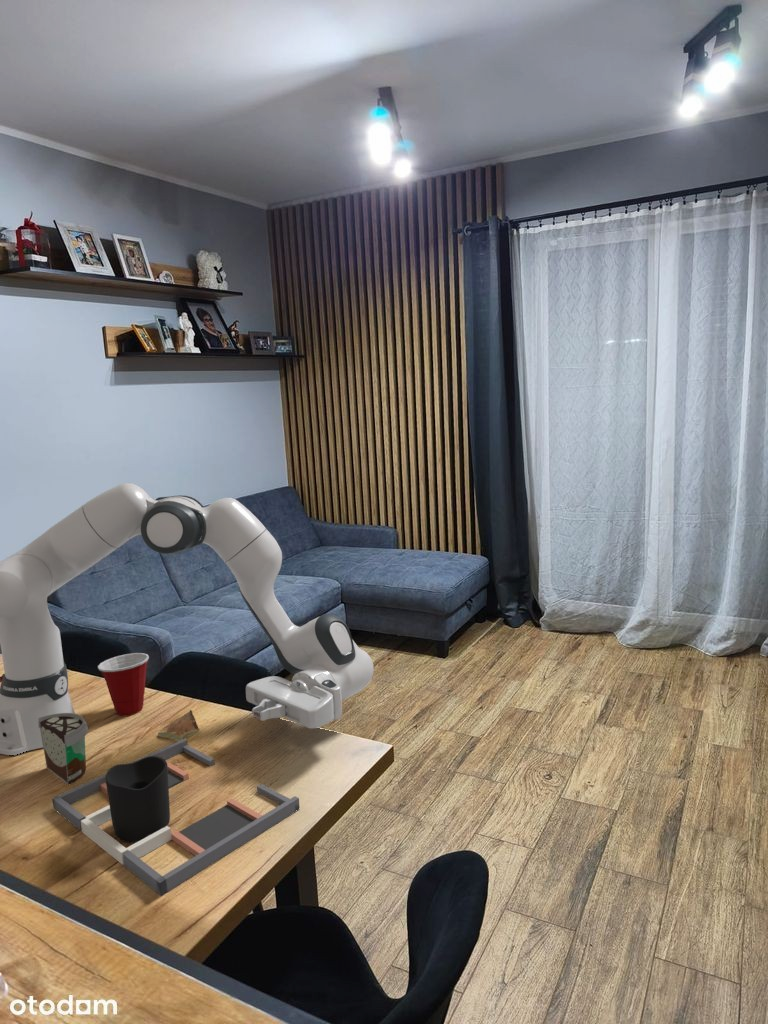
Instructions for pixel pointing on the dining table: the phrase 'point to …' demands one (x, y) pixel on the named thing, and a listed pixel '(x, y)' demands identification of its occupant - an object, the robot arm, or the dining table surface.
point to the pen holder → (138, 798)
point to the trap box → (200, 838)
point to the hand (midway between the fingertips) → (256, 715)
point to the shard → (180, 728)
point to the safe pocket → (115, 847)
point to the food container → (64, 745)
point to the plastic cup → (126, 681)
